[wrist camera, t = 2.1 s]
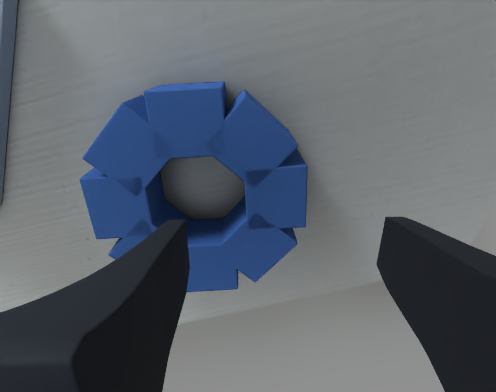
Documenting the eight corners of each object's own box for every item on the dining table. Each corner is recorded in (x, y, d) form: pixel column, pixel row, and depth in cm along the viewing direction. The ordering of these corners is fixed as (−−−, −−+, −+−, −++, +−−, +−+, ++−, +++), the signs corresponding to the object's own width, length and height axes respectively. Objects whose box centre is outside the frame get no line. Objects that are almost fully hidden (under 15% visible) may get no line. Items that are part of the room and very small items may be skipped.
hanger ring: (297, 77, 15) (309, 81, 13) (296, 255, 19) (305, 286, 17) (86, 89, 15) (55, 96, 13) (128, 265, 19) (111, 297, 17)
